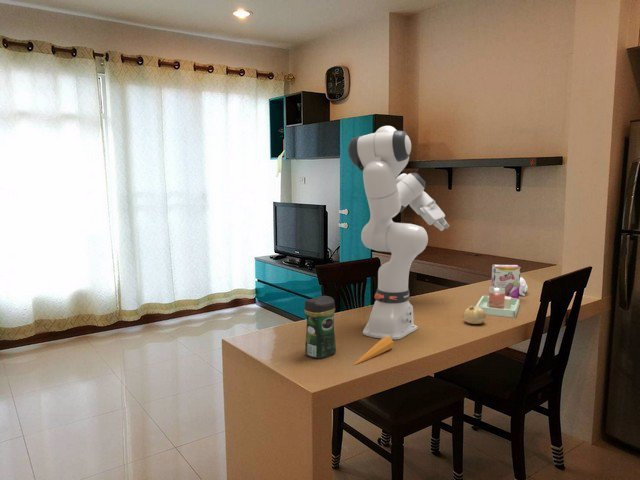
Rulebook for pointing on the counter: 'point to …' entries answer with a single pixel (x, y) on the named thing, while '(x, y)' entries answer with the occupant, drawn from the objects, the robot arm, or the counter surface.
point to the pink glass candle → (497, 297)
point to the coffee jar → (320, 327)
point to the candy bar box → (507, 279)
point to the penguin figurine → (522, 287)
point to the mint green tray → (499, 312)
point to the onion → (474, 315)
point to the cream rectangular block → (507, 302)
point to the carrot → (377, 349)
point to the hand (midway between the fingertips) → (445, 228)
